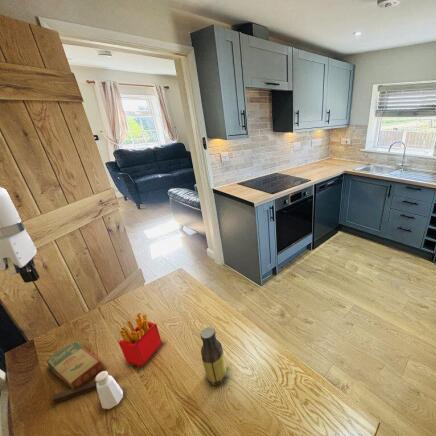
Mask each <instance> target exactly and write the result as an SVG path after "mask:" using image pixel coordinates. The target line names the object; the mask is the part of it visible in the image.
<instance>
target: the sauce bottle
mask: <svg viewBox="0 0 436 436" xmlns="http://www.w3.org/2000/svg"><path fill="white" fill-rule="evenodd" d="M199 335H200V339H201V341H202V346H201V348H200V355H201V360H202V361H201V362H202V365H203V368H204V373H205V376H206V379H207V381H208V383H209V384H210V385H213V386H218V385H220V384H221V383H222V382H224V380H225V379H226V378H227V375H228V372H227V371H228V370H227V364H226V360H225V355H224V348H223V346H222V343H221V341H219V340H218V339H217V337H216V336H217V335H216V330H215V328H214V327H212V326H207V327H204V329H202V330H201V332H200V334H199Z"/></svg>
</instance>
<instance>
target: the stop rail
mask: <svg viewBox="0 0 436 436" xmlns="http://www.w3.org/2000/svg"><path fill="white" fill-rule="evenodd" d="M111 376H112V377H113V378H114V376H113V375H111ZM95 390H97V381H96V380H94V381H92V382H89V383H85V384H84V385H82V386H80V387H77V388H74V389H72V388H70V389H68V390H65V391H62V392H59V393H56V394H54V396H53V398H52V401H53V403H54V404H58V403H60V402H64V401H66V400H69V399H72V398H75V397H78V396H81V395H84V394H88V393H90V392H92V391H95Z"/></svg>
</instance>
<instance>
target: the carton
mask: <svg viewBox="0 0 436 436" xmlns="http://www.w3.org/2000/svg"><path fill="white" fill-rule="evenodd" d="M45 362H46V364H47V365H48V368H49V369H50V371H52V372H53V373H54V374H55V375H56V376H57V377H58V378H59V379H60V380H61V381H63V382H64V384H66V385H67V386H68V387H69V388H70V389H74V388H77V387H80V386H83V385H86V384H87V383H88V382H89V381H90V380H91V379H92V378H94V377H96V376H97V375H98V374H99V373H100V372H102V371H103V370H104V365H103V363H102V361H101V359H99V358H98V357H97V356H95V355H94V354H92V353H91V352H90V351H88V350H87V349H86V348H85V347H84V346H83V345H82V344H80V343H79V342H78V341H76V340H74V341H72V342H71V343H69V344H68V345H66V346H65V347H64V348H62V349H60V350H59V351H58V352H56V353H54V354H53V355H52V356H49V357H48V358H47V359H45Z"/></svg>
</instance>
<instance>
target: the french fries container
mask: <svg viewBox="0 0 436 436" xmlns="http://www.w3.org/2000/svg"><path fill="white" fill-rule="evenodd" d="M136 316H137V318H135V323H136V327H135V328H134V325H133V324H132V322H131V320H127V321H126V324H127V326H128V327H129V329H130V330H129V329H127V328H126V326H125V325H123V326H122V327H120V328H121V329H120V331H119V334H120V335H121V337H122V339H120V340H119V341H118V344H119V347H120V349H121V352H122V354H123V357H124V359H125V361H126V362H128V363H127V364H130V365H132V366H136V367H139V368H142V367H143V366H144V365H145V364H146V363H147V362H148V361H149V360H150V358H151V357H152V356H153V355H154V354H155V353H156V352H157V351H158V349H159V348H160V347H161V346H162V345H163V342H162V337H161V334H160V332H159V328H158V324H157V323H155V322H151V321H148V317H147V314H145V313H144V314H143V315H141V312H138V313H136Z"/></svg>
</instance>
